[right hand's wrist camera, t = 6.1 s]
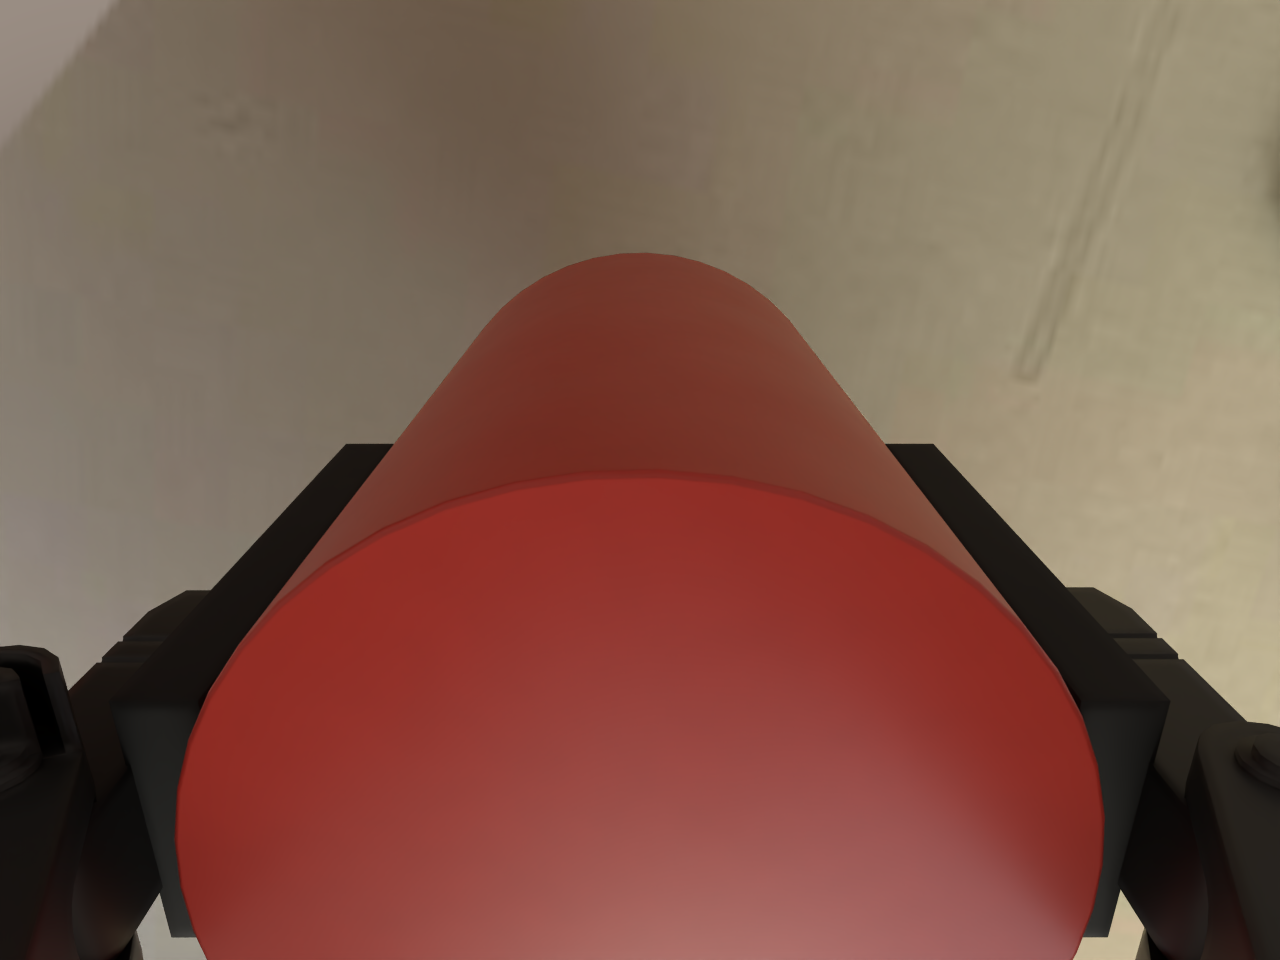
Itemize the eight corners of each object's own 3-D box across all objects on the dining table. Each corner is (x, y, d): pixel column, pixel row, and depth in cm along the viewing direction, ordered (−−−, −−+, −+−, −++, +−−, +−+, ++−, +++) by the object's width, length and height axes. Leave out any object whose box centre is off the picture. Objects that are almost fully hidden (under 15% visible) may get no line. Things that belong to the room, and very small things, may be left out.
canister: (903, 354, 17) (1313, 710, 6) (725, 663, 19) (820, 1265, 9) (534, 181, 15) (334, 284, 5) (396, 533, 18) (83, 1056, 8)
